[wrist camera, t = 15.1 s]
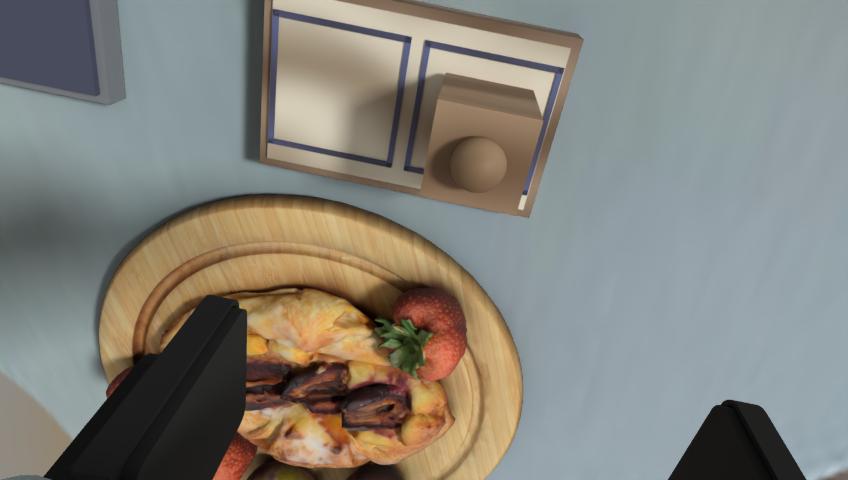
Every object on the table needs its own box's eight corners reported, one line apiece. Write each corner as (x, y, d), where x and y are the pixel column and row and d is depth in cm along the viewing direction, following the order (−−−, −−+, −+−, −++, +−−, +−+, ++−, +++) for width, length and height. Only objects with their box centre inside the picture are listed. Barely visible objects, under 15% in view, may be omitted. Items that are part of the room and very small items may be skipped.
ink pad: (-22, -99, 28) (-55, -102, 26) (110, -72, 28) (85, -74, 26) (12, 74, 33) (-15, 82, 31) (125, 98, 33) (105, 106, 31)
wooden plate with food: (395, 102, 32) (369, 149, 24) (582, 458, 44) (602, 559, 36) (27, 286, 41) (-71, 359, 34) (266, 537, 53) (231, 630, 46)
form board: (278, -27, 28) (263, -26, 26) (577, 33, 28) (584, 40, 26) (271, 151, 33) (257, 164, 31) (526, 203, 33) (529, 220, 31)
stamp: (446, 70, 28) (434, 110, 21) (532, 87, 28) (548, 133, 21) (430, 152, 30) (414, 213, 23) (510, 168, 30) (518, 234, 23)
